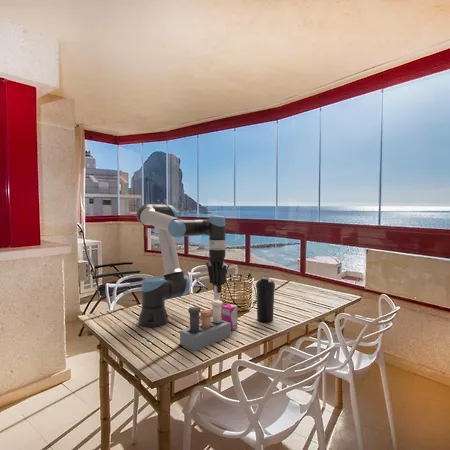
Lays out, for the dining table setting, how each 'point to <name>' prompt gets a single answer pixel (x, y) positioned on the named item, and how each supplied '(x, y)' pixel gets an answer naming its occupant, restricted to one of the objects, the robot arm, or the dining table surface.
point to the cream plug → (217, 311)
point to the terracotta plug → (206, 319)
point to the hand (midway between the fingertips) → (217, 299)
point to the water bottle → (265, 299)
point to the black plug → (194, 318)
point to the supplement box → (230, 315)
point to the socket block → (205, 335)
